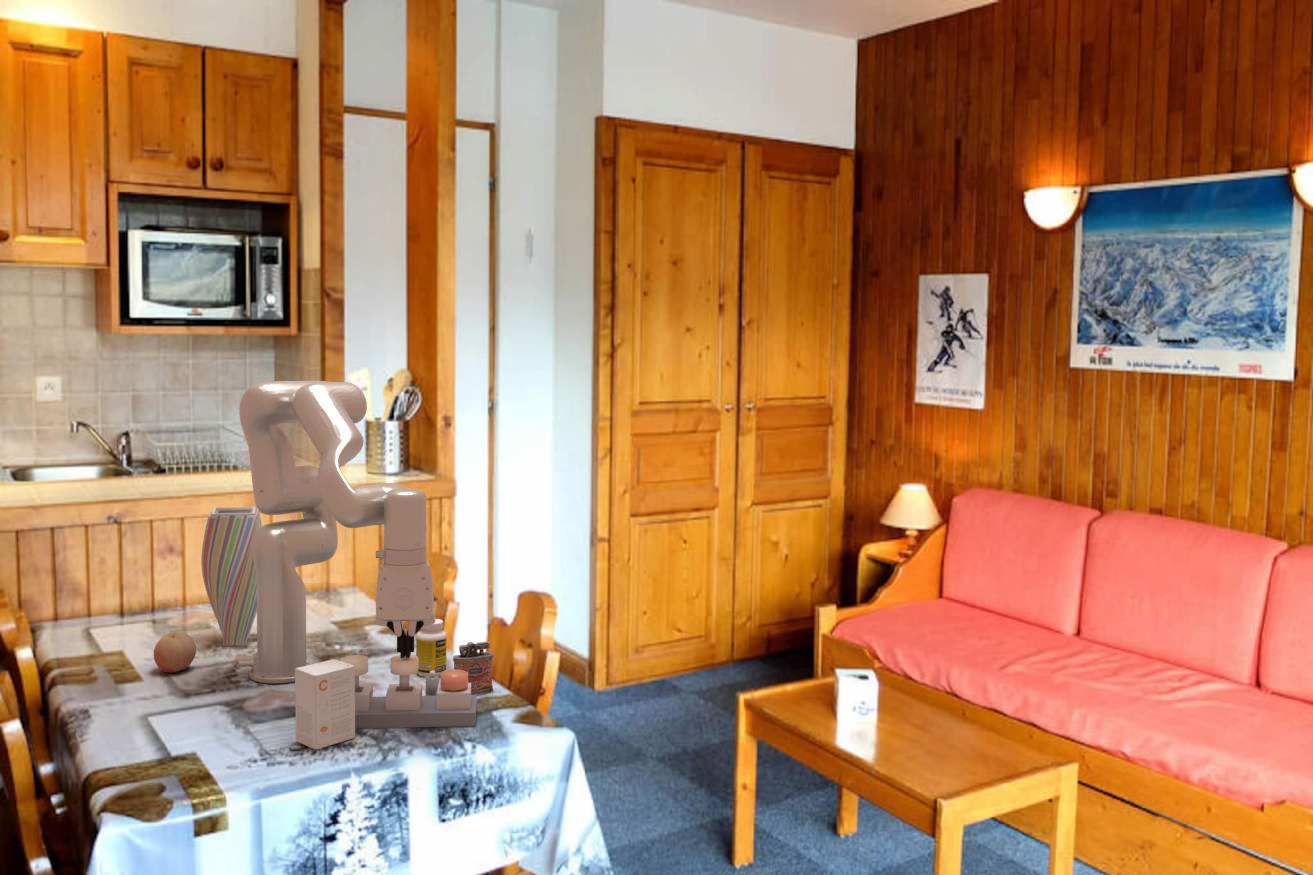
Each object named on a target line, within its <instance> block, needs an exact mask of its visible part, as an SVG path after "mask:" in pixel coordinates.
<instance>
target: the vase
mask: <svg viewBox="0 0 1313 875" xmlns="http://www.w3.org/2000/svg"><path fill="white" fill-rule="evenodd" d="M260 514H261V513H260V511H259V510H258V508H257V507H256V506H237V507H235V506H233V507H213V508H212V509H211V511H210V512H209V514H208V517H207V521H206V526H205V530H204V533H203V534H204V536H203V542H202V549H201V560H200V562H201V573H202V574H201V575H202V578H203V584H204V588H205V592H206V595H207V598H208V601H209V604H210V605H211V606H210V607H211V609H212V611H213V614H214V616H215V619H216V622H217V625H218V627H219V630H220V632H221V637H222V646H223V647H229V646H230V647H231V646H232V647H233V646H246V645H247V643H248V639H249V635H250V633H251V630H252V627H253V624H254V622H255V618H256V617H257V586H256V573H255V566H254V561H253V556H252V551H251V540H252V537H253V535H254V533H255V532H256V531H257V530H258V529H259V528H260V527H262V526H263V523H262V518H261V515H260Z"/></svg>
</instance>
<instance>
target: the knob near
mask: <svg viewBox="0 0 1313 875" xmlns="http://www.w3.org/2000/svg"><path fill="white" fill-rule="evenodd" d="M339 661H342V662H345V663H348V664H351V665H353V666H355V689H358V688H359V684H360V676H364V675H366V674H368V672H369V657H368V656H366V655H362V654H353V655H345V656H342V657H341V658H339Z"/></svg>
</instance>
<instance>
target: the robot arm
mask: <svg viewBox="0 0 1313 875" xmlns="http://www.w3.org/2000/svg"><path fill="white" fill-rule="evenodd" d="M367 403H368V402H367V399H366V396H365V394H364V392H363V390H362V389H361V388H360V387H358V385H356V384H354V383H352V382H347V381H327V380H284V381H283V380H274V381H271V380H270V381H263V382H258V383H255V384H253V385H251V386H249V387H248V388H247V389H246V390H245V391H244V392H243V394H242V396H241V398H240V403H239V407H238V408H239V409H238V410H239V411H238V412H239V421H240V425H241V426H240V427H241V428H242V432H243V434H244V438H245V441H246V444H247V446H248V454H249V465H250V466H249V467H250V474H251V484H252V490H253V491H252V492H253V498H254V504H255V507H256V508H257V509H258V510H259V513H260V514H263V515H267V516H280V515H289V514H295V513H301V514H302V518H299V519H289V520H281V521H275V522H270V523H267V524H265V525H264V524H263V525H262V527H260V528H259V529H258V530H257V531H256V532H255V533H254V535H253V537H252V540H251V551H252V556H253V561H254V566H255V573H256V586H257V613H256V634H257V635H256V646H257V648H256V651H257V652H256V653H251V655H246V654H244V655H243V654H238V655H237V654H236V655H235V659H234V660H235V662H234V663H235V665H238V667H239V668H242V667H243V668H246V667H250V670H249V671H248V673H249V674H248V676H249V679H250V680H252V681H254V682H257V683H261V684H262V683H263V684H288V683H295V668H299V667H303V666H307V665H311V663H310V662H307V592H306V591H307V590H306V586H305V583H304V581H303V579H302V578H301V576H300V575H299V574H298V572H297V570H296V568H299V567H302V566H308V565H313V564H318V563H323V562H327V561H329V560H331V559H332V558H333V557H334V556H335V554H336V552H337V549H338V546H339V545H338V544H339V537H338V536H339V534H338V524H340V525H341V526H343V527H345V528H348V529H356V528H357V529H360V528H366V527H371V526H372V527H373V526H380V525H381V526H383V548H382V549H380V550H375V558H376V559H380V560H382V561H383V562H382V563H381V564H380V565H379V568H378V572H377V580H376V590H375V591H376V594H375V616H376V618H375V622H374V624H375V625H377V626H380V627H387V628H388V629H389V630H390V631H392V633H393V634H394V635H395V637H396V653H400V654H399V655H400V658H404V657H406V658H410V655H412V654H411V653H414V652H415V634H416V633H418V632H419V631H421V628H422V627H423V626H427V625H431V624H434V623H435V620H436V619H437V618H436V615H435V612H434V609H435V588H434V580H433V572H432V567H431V564H430V563H429V562H427V495H426V493H425V492H424V491H423V490H422V489H419V488H415V487H414V488H411V487H405V486H402V485H400V484H397V483H394V482H393V483H392V482H391V483H389V482H388V483H387V482H386V483H377V484H376V483H375V484H367V485H358V486H357V485H356V486H352V485H351V484H350V483H349V481H348V480H347V479H346V478H345V475H344V474H343V472H342V469H341V467H343V466H344V465H346V464H348V463H349V462H351V461H352V460H354V458H356V456H358V454H360V452H361V451H362V449H363V447H364V442H365V441H364V436H363V434H362V433H361V431H360V430H359V429H358V427H357V426H356V424H358V423H360V422H361V421H362V420H364V418H365V416H366V414H367V408H368V404H367ZM297 423H298V424H299V423H300V425H301V426H302V428H303V429H304V431H305V433H306V434H307V436H308V438H309V439H310V441H311V442H312V444H313V446H314V447H315V450H317V452H318V454H319V455H320V457H321V460H320V463H319V466H317V465H309V464H308V465H297V464H296V461H295V456H294V455H295V453H294V452H295V451H294V447H293V443H292V441H291V440H290V438H289V436H288V435H287V433H286V432H285V431H284V430H283V428H281V427H280V426H279V425H281V424H297ZM337 523H338V524H337ZM403 622H409V626H408V629H407V631H406V632H405V629H404V627H403Z"/></svg>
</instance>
